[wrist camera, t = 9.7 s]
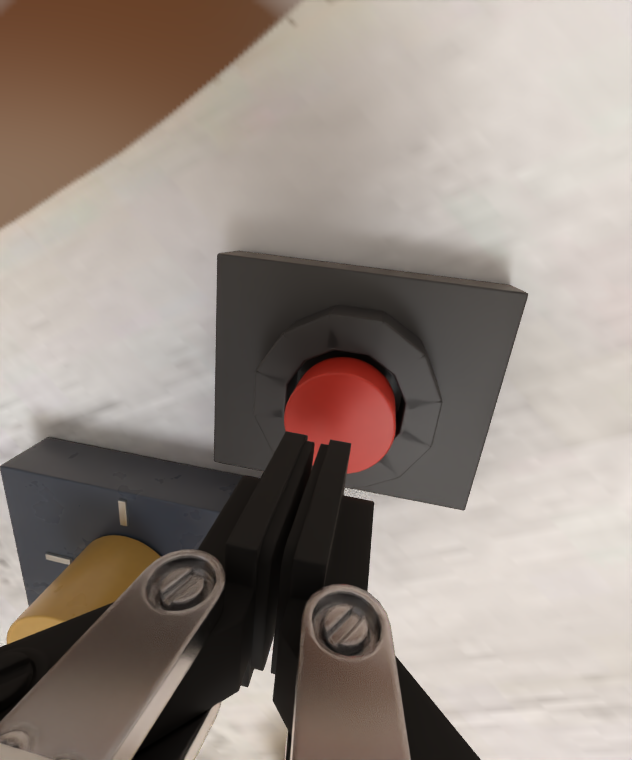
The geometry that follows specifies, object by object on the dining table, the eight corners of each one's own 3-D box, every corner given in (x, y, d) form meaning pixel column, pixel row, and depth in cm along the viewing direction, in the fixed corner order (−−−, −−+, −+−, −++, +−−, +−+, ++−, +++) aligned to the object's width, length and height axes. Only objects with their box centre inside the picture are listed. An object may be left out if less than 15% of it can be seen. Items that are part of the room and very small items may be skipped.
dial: (78, 525, 20) (-12, 610, 15) (174, 546, 19) (108, 642, 15) (88, 599, 22) (10, 695, 17) (176, 621, 21) (118, 727, 16)
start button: (291, 439, 15) (279, 463, 14) (299, 348, 14) (288, 364, 12) (386, 456, 15) (385, 483, 13) (404, 364, 14) (405, 383, 12)
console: (68, 573, 26) (27, 617, 23) (47, 436, 22) (-5, 467, 19) (265, 621, 24) (247, 675, 21) (276, 481, 21) (257, 523, 18)
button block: (231, 438, 20) (195, 485, 16) (237, 250, 17) (194, 256, 13) (457, 481, 19) (472, 542, 15) (511, 284, 16) (548, 301, 12)
